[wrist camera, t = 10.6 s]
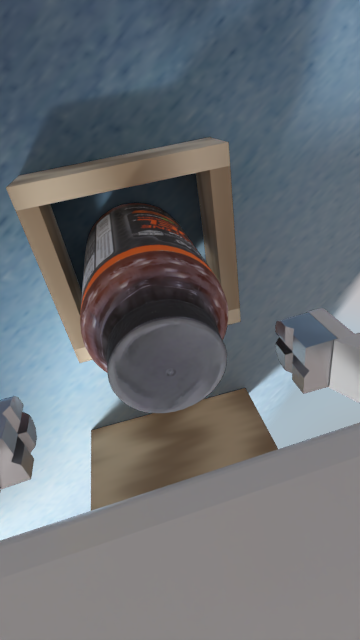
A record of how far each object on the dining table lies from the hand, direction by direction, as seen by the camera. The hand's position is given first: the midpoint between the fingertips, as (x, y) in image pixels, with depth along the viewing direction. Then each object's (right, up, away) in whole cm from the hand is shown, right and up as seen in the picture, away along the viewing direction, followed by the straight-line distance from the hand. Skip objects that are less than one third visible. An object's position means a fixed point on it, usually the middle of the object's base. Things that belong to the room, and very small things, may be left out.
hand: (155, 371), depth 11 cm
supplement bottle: (-2, +6, +10) cm, 12 cm away
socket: (-2, +6, +10) cm, 12 cm away
